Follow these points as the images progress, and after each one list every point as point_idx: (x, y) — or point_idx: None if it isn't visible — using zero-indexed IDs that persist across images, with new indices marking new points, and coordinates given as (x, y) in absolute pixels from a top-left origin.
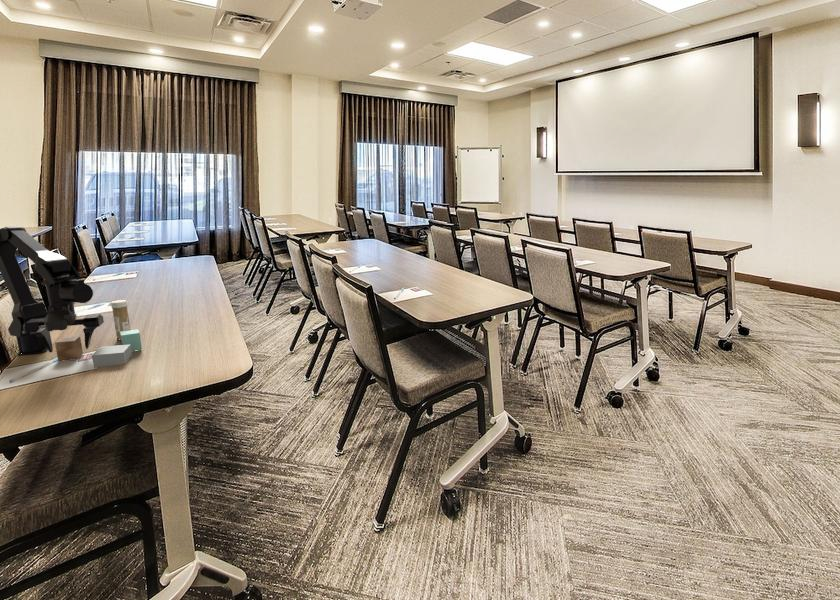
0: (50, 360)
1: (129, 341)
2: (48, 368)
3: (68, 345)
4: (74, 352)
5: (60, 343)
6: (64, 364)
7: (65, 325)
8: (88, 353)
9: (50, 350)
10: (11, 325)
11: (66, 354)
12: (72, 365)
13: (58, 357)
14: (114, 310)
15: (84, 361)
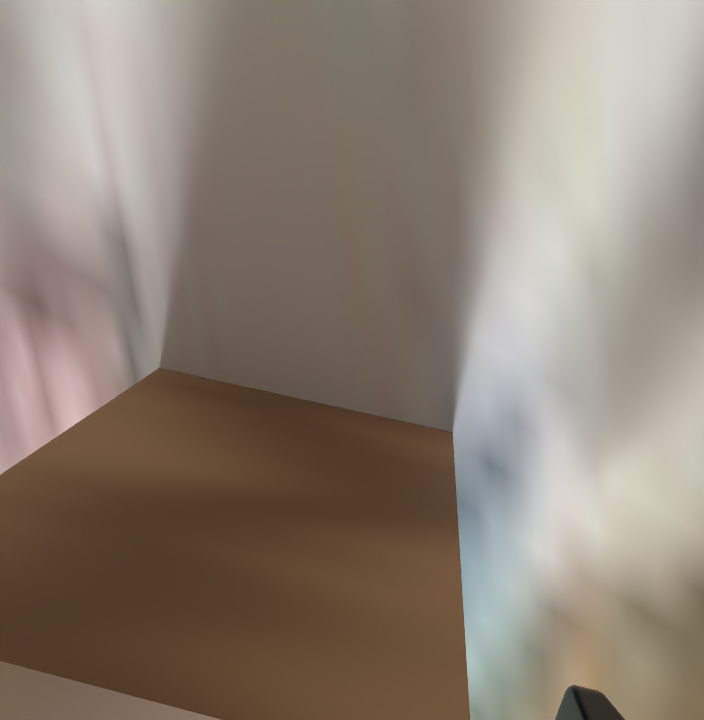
0: (574, 565)
1: None
2: (597, 43)
3: (118, 560)
4: (122, 429)
5: (297, 687)
6: (332, 175)
7: None
8: None
9: (593, 717)
10: None
11: (283, 452)
12: (183, 14)
13: (437, 461)
14: None
15: (31, 182)
